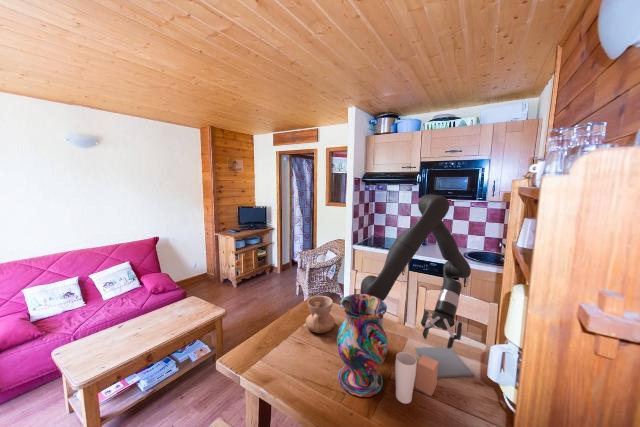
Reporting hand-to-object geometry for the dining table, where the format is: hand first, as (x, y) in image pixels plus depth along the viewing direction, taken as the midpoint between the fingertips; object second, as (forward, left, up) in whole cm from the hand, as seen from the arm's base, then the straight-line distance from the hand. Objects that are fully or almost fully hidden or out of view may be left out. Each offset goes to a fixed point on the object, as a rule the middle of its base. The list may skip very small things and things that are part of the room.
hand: (436, 343), depth 97 cm
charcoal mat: (+7, +6, -13) cm, 15 cm away
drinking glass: (-16, -10, -13) cm, 23 cm away
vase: (-29, -1, -13) cm, 32 cm away
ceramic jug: (-42, +32, -13) cm, 54 cm away
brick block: (-6, -6, -13) cm, 16 cm away
